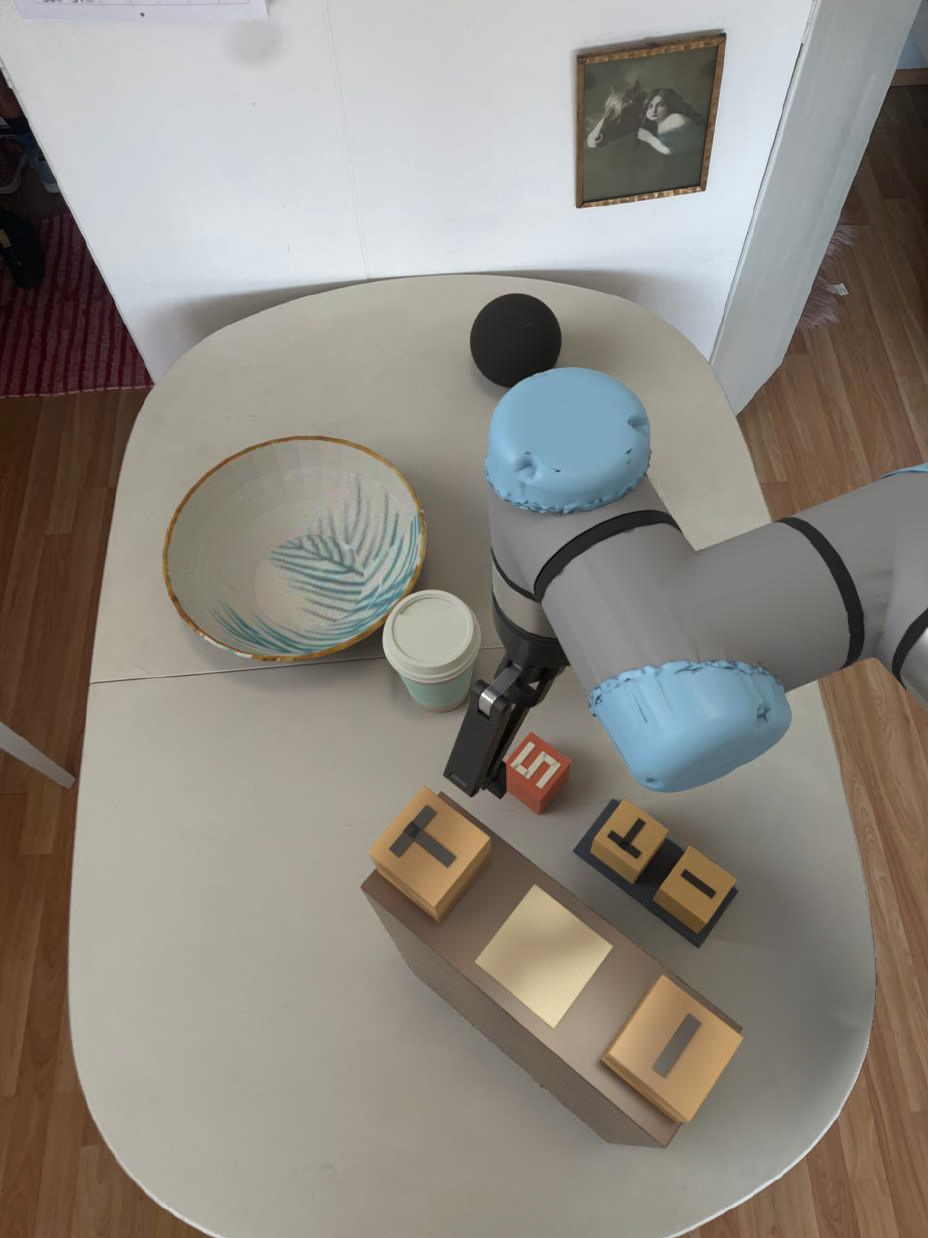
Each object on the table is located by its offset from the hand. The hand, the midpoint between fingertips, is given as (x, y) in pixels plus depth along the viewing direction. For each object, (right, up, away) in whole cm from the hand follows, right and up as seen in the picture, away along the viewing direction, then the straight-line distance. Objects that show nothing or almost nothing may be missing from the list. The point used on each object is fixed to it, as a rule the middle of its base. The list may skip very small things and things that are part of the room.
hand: (544, 719), depth 76 cm
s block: (0, -7, +13) cm, 15 cm away
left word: (+10, -14, +9) cm, 19 cm away
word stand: (-1, -25, +4) cm, 25 cm away
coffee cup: (-9, +1, +18) cm, 20 cm away
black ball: (0, +36, +36) cm, 50 cm away
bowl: (-22, +11, +24) cm, 34 cm away
